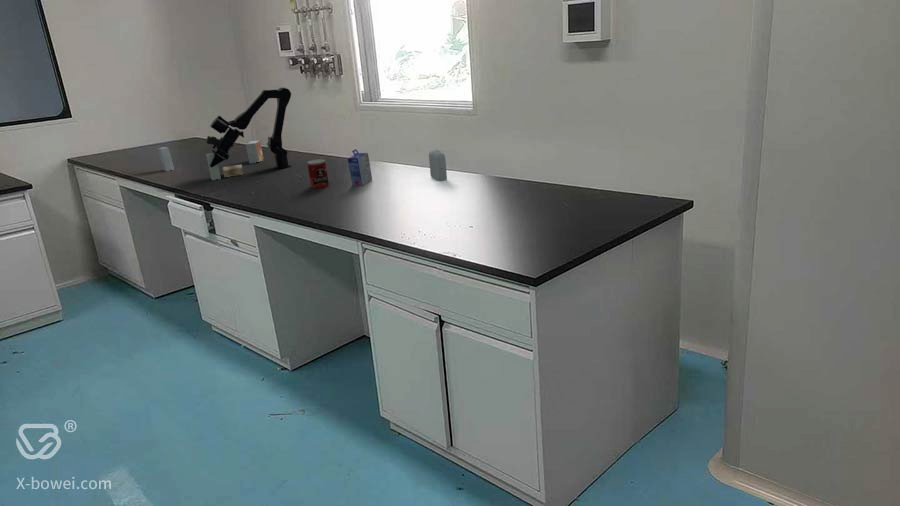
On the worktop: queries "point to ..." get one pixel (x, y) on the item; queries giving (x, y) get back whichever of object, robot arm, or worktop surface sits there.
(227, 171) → the oak block
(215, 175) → the sage post
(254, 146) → the small box
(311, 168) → the canned food
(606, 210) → the worktop surface
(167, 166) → the skincare box
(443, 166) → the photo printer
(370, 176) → the ink cartridge box
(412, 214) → the worktop surface
